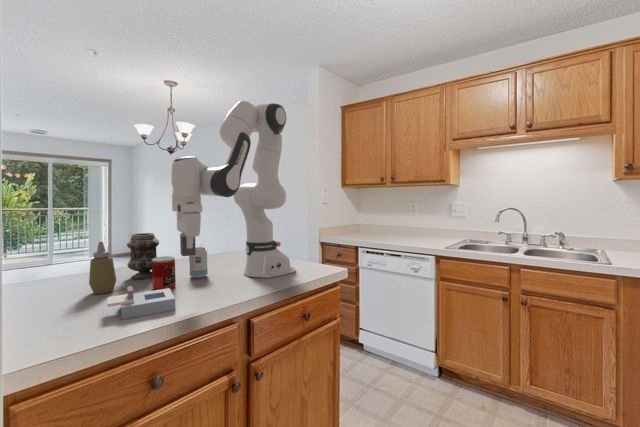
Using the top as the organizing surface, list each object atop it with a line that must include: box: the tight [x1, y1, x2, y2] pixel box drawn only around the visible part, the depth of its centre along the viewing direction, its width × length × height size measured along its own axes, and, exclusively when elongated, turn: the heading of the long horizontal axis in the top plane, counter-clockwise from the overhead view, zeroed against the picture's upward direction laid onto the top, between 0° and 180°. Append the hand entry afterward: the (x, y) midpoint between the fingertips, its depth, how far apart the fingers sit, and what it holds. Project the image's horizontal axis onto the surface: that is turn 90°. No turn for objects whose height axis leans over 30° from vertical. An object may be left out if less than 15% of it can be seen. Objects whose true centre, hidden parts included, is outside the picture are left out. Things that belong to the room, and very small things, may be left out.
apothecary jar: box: [126, 232, 160, 281], centre depth 135 cm, size 12×12×18 cm
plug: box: [179, 233, 196, 257], centre depth 108 cm, size 4×4×7 cm
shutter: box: [106, 285, 134, 308], centre depth 96 cm, size 7×7×3 cm
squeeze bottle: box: [88, 241, 117, 295], centre depth 115 cm, size 8×8×18 cm
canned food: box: [151, 255, 176, 291], centre depth 120 cm, size 8×8×11 cm
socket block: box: [120, 288, 177, 321], centre depth 100 cm, size 14×12×4 cm
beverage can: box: [188, 246, 208, 280], centre depth 134 cm, size 7×7×12 cm
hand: (187, 246), depth 108 cm, fingers closed on plug, 4 cm apart
